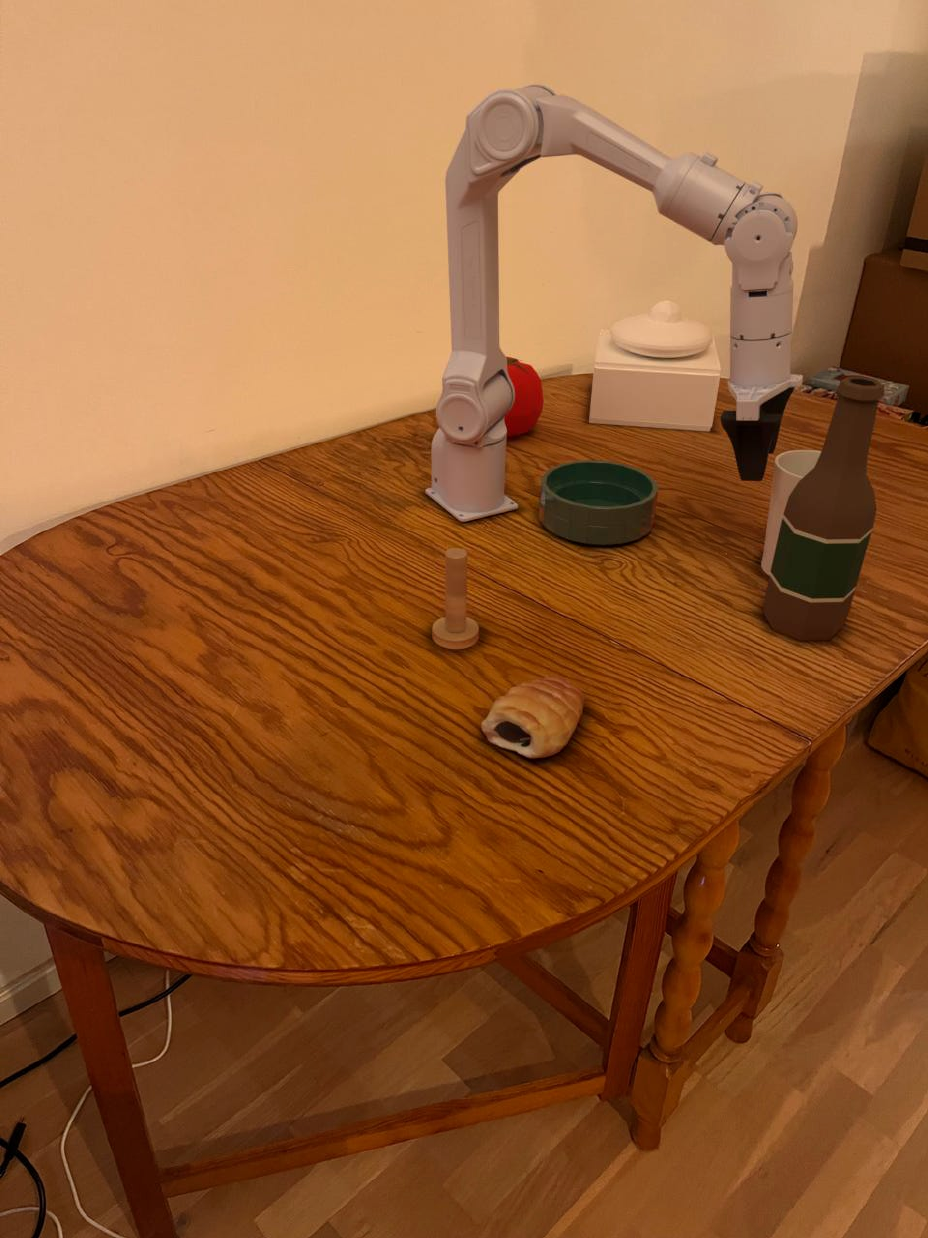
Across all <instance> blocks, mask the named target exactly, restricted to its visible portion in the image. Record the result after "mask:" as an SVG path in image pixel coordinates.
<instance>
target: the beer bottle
mask: <svg viewBox="0 0 928 1238" xmlns="http://www.w3.org/2000/svg"><path fill="white" fill-rule="evenodd" d="M835 391H836V393H837V394H838V397H837V401H836V403H835V407H834V410H833V413H832V417H831V420H830V423H829V426H828V430H827V433H826V436H825V439H824V442H823V445H822V449H821V451H822V452H821V454H820V456H819V458H818V460H817V463H816V465H815V467H814V468H813V469H812V470H811V471H810V472H809V473H808V474H807V475H805V476H804V477H803V478H802V479H801V480H800V481H799V482H798V484H797V485H796V487H795V488H794V490H793V491H792V493H791V494H790V496H789V498H788V501H787V504H786V507H785V510H784V513H783V518H782V522H781V527H780V531H779V535H778V540H777V544H776V549H775V553H774V558H773V562H772V567H771V571H770V576H769V575H768V580H767V585H766V591H765V594H764V600H763V607H762V613H763V616H764V618H765V619H766V621H767V623H768V624H769V626H770V627H771V629H772V631H774V632H777V633H778V634H782V635H784V636H787V637H789V638H792V639H794V640H797V641H800V642H819V641H820V642H823V641H825V642H826V641H830V640H831V639H832V638H833V637H834V636H835V635H836V634H837V633H839V631H840V630H841V629H842V628H844V626H845V623H846V621H847V618H848V615H849V613H850V609H851V606H852V602H853V599H854V596H855V592H856V588H857V585H858V583H859V579H860V578H859V577H860V574H861V572H862V568H863V564H864V560H865V557H866V553H867V551H868V550H867V549H868V546H869V543H870V539H871V536H872V532H873V530H874V525H875V520H876V514H877V502H876V495H875V494H876V493H875V490H874V487H873V486H872V484H871V481H870V479H869V477H868V475H867V473H868V472H867V471H868V456H869V452H870V446H871V442H872V436H873V432H874V427H875V421H876V417H877V411H878V406H879V401H880V399H882V398H884V397H885V385H884V384H882V382H880V381H879V380H878V379H874V378H871V377H866V376H863V375H862V376H860V375H859V376H848V377H845V378H843V379H841V381H840V382H839V384H838V386H837V388H836V389H835Z"/></svg>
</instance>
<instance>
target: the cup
mask: <svg viewBox="0 0 928 1238" xmlns="http://www.w3.org/2000/svg"><path fill="white" fill-rule="evenodd" d="M821 452H822V450H813V449H794V450H787V451H784V452H781V453H780V454H778V455H777V456H775V459H774V465H773V474H772V475H773V476H772V484H771V490H770V491H771V492H770V499H769V505H768V507H769V508H768V513H767V514H768V515H767V522H766V523H767V524H766V528H765V529H766V530H765V531H766V532H765V538H764V545H763V553H762V558H761V563H760V567H761V569H762V571H763V572H764V573H765V574H766V575H767V576H768V577H769V576H770V571H771V567H772V562H773V558H774V553H775V549H776V544H777V540H778V535H779V531H780V527H781V522H782V518H783V513H784V510H785V507H786V504H787V501H788V498H789V496H790V494H791V493H792V491H793V490H794V488H795V487H796V485H797V484H798V482H799V481H800V480H801V479H802V478H803V477H804V476H805V475H807V474H808V473H809V472H810V471H811V470H812V469H813V468H814V467H815V465H816V463H817V460H818V458H819V456H820V454H821Z"/></svg>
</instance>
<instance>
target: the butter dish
mask: <svg viewBox="0 0 928 1238" xmlns="http://www.w3.org/2000/svg"><path fill="white" fill-rule="evenodd" d="M596 345H597V346H596V352H595V358H594V365H593V372H592V374H593V375H592V382H591V395H590V405H589V406H590V407H589V418H588V423H589V424H599V425H615V426H625V427H627V426H629V427H642V428H653V429H654V428H656V429H669V430H684V431H695V432H696V431H698V432H711V428H713V424H714V423H713V422H714V417H715V411H716V404H717V398H718V393H719V387H720V382H721V381H720V380H721V372H722V368H721V363H720V359H719V354H718V350H717V345H716V342H715V337H714V335H713V333H712V332H711V330H710V328H708V327H707V326H706V325H705V324H703V323H702V322H699V321H698V320H695V319H693V318H690V317H686V316H683V310H682V309H681V308H680V307H679V304H678V303H676V302H674V301H671V300H660V301H658V302H657V303H656V304H654V305H653V306H652V307H651V309H650V311H649V313H641V314H635V315H634V314H633V315H630V316H627V317H623V318H622V319H620V320H618V321H617V322H615V323H614V324H613V325H612V326H611V328H608V329H607V328H600V332H599V333H598V339H597V344H596Z"/></svg>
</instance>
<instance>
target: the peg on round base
mask: <svg viewBox="0 0 928 1238" xmlns="http://www.w3.org/2000/svg"><path fill="white" fill-rule="evenodd" d="M467 595H468V552H467V550H466V549H465V548H460V547H452V548H448V549H447V550H446V551H445V552H444V616H442V617H440V618H438V619H436V620H435V621H434V622H433V623H432V626H431V632H432V633H431V638H432V640H433V642H434V644H436V645H437V646H439V647H442V648H443V649H446V650H447V649H448V650H465V649H467V648H470V647H472V646H474V645H475V644H476V643H477V642H478V641H479V637H480V627H479V623H477V621H476V620H475V619H473V618H471V617H468V616H467V607H468V606H467V605H468V603H467V601H468V599H467V598H468V596H467Z"/></svg>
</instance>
